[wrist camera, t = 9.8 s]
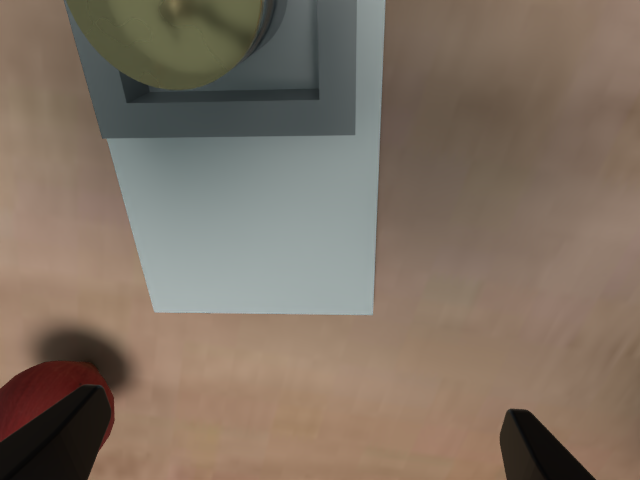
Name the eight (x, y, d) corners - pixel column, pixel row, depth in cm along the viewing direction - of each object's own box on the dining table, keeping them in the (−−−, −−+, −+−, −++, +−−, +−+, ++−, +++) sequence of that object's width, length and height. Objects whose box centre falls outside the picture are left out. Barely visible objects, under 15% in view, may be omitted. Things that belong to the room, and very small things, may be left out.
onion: (93, 412, 28) (7, 552, 21) (18, 354, 25) (-105, 490, 18) (157, 378, 26) (88, 520, 19) (83, 313, 24) (-27, 447, 17)
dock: (393, -262, 12) (405, -331, 10) (371, 302, 22) (375, 343, 20) (22, -236, 13) (-60, -294, 10) (161, 300, 23) (137, 339, 20)
